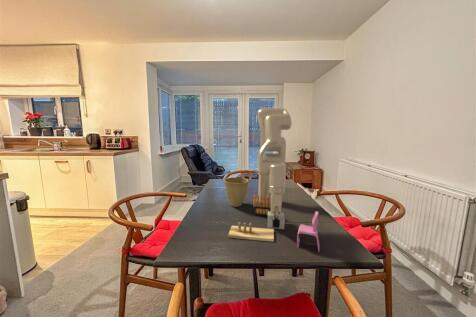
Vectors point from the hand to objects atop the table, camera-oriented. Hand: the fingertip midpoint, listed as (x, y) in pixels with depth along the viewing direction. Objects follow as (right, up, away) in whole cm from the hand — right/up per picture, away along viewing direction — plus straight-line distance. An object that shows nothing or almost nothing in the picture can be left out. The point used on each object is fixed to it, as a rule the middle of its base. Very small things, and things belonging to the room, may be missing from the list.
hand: (275, 222), depth 103 cm
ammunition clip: (-5, 0, +13) cm, 14 cm away
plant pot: (-20, +2, +28) cm, 35 cm away
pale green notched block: (0, -2, 0) cm, 2 cm away
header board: (-12, -3, -8) cm, 15 cm away
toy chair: (+10, -5, -16) cm, 20 cm away
